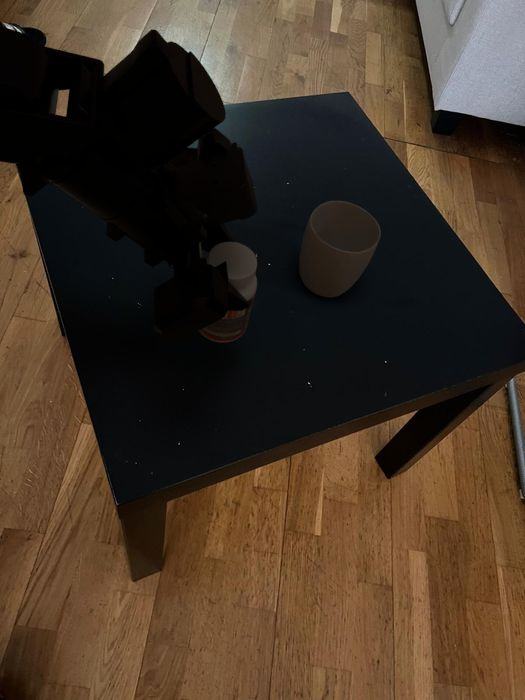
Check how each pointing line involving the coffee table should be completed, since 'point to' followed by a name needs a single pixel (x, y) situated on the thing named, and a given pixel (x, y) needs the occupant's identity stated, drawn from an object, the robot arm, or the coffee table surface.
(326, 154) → the coffee table surface
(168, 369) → the coffee table surface
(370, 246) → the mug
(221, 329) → the pill bottle
